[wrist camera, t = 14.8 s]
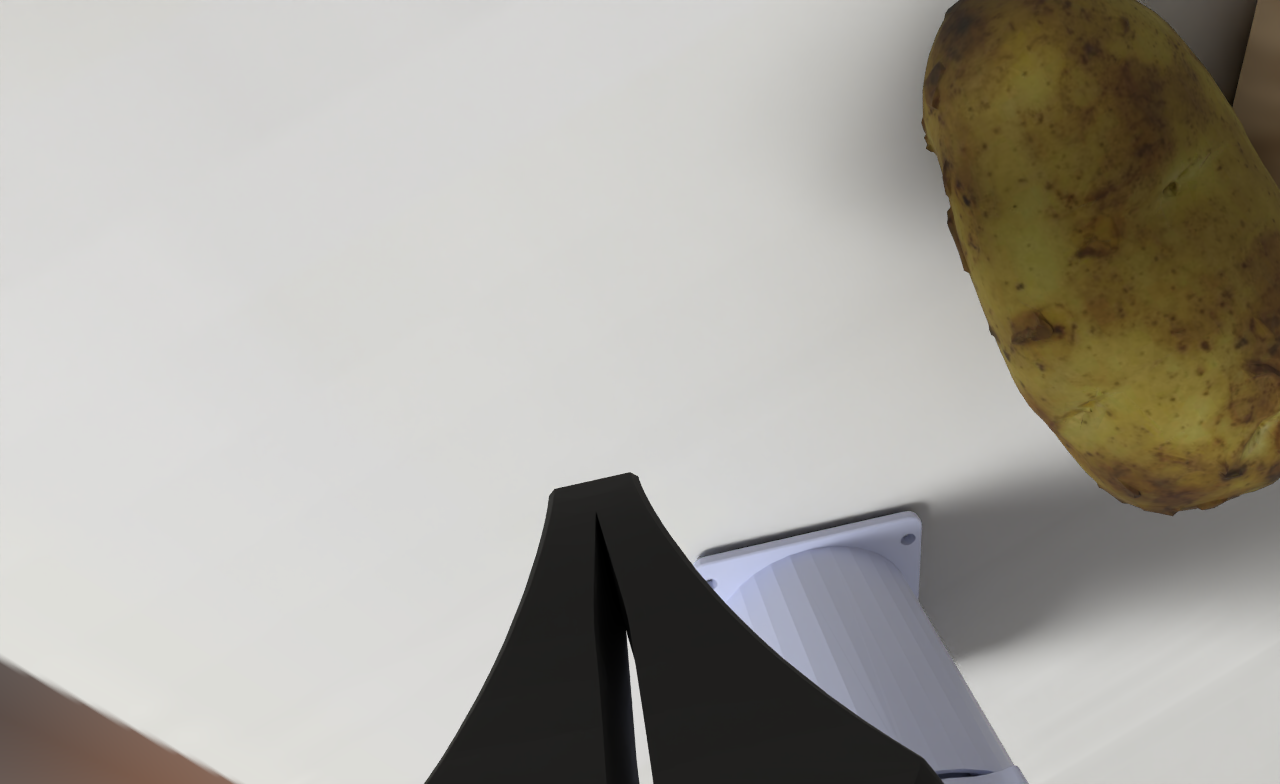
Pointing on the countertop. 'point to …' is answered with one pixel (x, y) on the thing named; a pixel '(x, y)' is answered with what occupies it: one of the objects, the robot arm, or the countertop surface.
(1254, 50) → the roller
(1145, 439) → the potato
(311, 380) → the countertop surface
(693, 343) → the countertop surface
